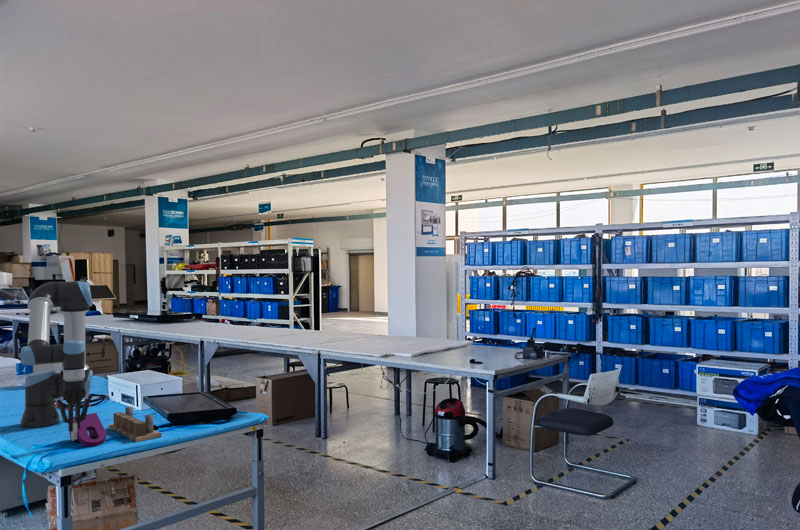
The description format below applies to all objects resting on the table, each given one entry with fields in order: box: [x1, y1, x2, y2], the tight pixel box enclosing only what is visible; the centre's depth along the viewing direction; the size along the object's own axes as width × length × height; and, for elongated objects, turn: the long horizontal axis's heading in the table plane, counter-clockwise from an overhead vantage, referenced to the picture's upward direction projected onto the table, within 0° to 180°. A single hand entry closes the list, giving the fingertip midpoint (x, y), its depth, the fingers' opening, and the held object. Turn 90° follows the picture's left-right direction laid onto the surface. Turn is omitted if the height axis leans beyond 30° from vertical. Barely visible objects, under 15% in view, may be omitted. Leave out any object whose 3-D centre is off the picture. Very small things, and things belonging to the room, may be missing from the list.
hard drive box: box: [32, 363, 63, 374], centre depth 354 cm, size 16×8×20 cm, turn 74°
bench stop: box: [107, 406, 163, 443], centre depth 244 cm, size 32×10×8 cm, turn 45°
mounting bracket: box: [69, 412, 108, 447], centre depth 232 cm, size 10×8×18 cm
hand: (74, 439), depth 228 cm, fingers closed
